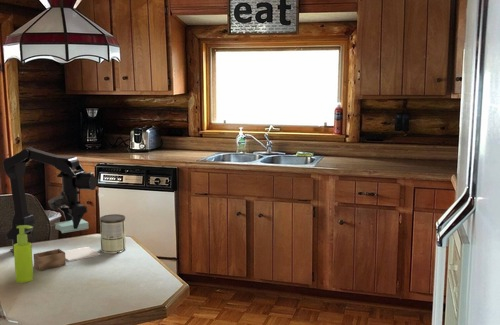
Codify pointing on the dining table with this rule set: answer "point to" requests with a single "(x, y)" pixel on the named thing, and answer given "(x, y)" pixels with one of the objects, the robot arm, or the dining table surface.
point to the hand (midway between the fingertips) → (71, 226)
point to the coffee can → (112, 233)
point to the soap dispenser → (23, 256)
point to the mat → (80, 253)
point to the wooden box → (49, 259)
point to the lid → (71, 226)
